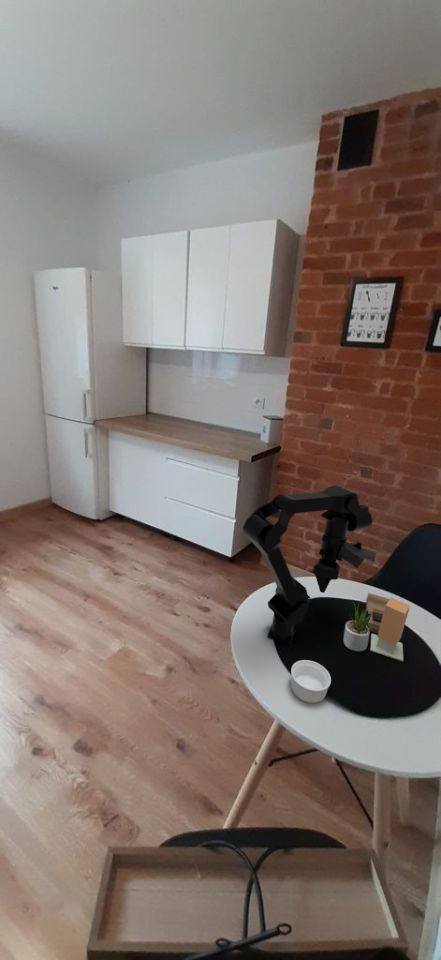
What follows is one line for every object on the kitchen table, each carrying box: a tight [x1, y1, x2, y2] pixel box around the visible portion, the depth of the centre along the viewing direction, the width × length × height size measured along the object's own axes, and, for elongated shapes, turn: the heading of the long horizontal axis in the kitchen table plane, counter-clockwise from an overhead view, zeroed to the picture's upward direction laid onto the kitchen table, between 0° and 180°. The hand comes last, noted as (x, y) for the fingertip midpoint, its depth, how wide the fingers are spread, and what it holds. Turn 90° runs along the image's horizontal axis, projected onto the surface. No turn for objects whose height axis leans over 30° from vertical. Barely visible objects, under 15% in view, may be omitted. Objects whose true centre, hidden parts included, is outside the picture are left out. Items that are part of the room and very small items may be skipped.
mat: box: [370, 633, 404, 662], centre depth 105 cm, size 7×8×1 cm
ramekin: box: [290, 659, 332, 704], centre depth 89 cm, size 9×9×4 cm
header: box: [365, 592, 391, 634], centre depth 117 cm, size 16×8×2 cm, turn 158°
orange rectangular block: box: [376, 597, 411, 654], centre depth 103 cm, size 5×5×13 cm
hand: (324, 583), depth 108 cm, fingers open, 9 cm apart
